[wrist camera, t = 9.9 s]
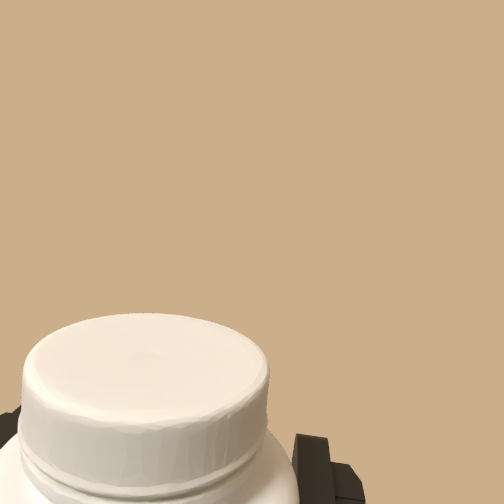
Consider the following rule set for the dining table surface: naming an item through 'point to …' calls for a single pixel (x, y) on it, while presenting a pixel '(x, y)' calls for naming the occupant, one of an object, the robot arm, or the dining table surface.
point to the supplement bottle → (145, 418)
